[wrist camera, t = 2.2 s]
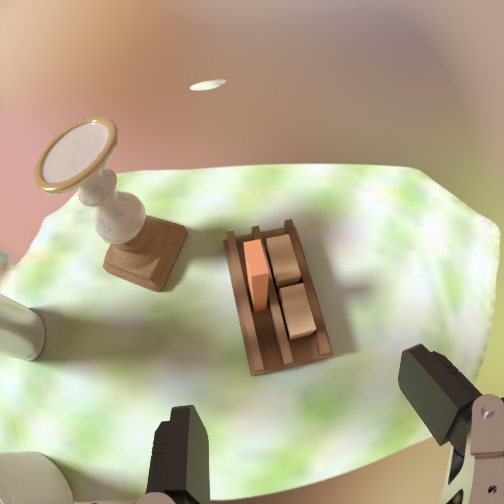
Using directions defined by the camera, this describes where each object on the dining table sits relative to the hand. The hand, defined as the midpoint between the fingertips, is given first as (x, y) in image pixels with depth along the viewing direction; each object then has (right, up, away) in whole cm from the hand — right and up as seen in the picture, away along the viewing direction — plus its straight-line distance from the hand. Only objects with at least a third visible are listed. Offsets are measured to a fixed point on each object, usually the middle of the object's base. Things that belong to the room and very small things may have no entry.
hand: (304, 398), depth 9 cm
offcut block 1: (+2, +3, +32) cm, 32 cm away
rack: (+1, -1, +32) cm, 32 cm away
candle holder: (-19, +5, +35) cm, 41 cm away
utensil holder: (-38, -35, +17) cm, 54 cm away
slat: (-1, -1, +30) cm, 30 cm away
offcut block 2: (+4, -3, +29) cm, 29 cm away
